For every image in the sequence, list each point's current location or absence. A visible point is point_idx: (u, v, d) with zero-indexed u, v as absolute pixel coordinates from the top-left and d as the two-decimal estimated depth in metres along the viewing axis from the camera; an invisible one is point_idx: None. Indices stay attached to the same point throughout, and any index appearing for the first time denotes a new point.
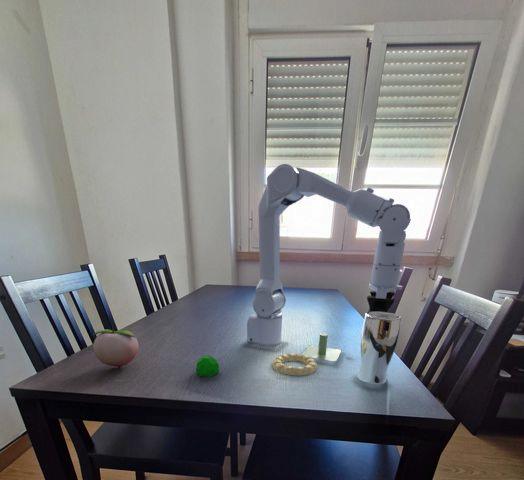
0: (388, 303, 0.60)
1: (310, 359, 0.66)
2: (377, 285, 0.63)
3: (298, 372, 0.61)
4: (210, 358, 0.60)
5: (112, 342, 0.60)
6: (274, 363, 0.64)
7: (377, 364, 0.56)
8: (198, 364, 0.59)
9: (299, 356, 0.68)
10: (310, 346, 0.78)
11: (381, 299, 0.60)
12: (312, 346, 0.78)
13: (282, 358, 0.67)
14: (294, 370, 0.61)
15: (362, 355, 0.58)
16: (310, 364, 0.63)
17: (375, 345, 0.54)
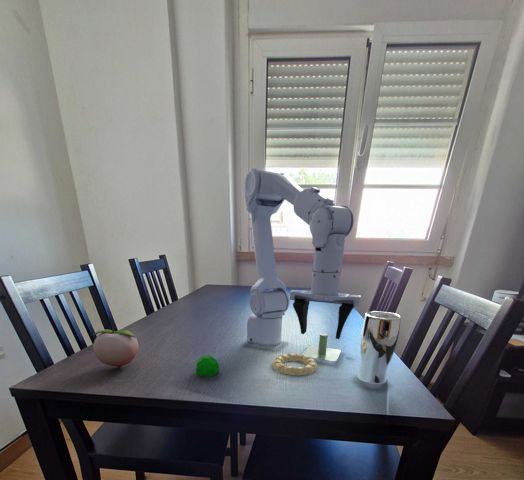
0: None
1: (310, 359, 0.66)
2: None
3: (298, 372, 0.61)
4: (210, 358, 0.60)
5: (112, 342, 0.60)
6: (274, 363, 0.64)
7: (377, 364, 0.56)
8: (198, 364, 0.59)
9: (299, 356, 0.68)
10: (310, 346, 0.78)
11: None
12: (312, 346, 0.78)
13: (282, 358, 0.67)
14: (294, 370, 0.61)
15: (362, 355, 0.58)
16: (310, 364, 0.63)
17: (375, 345, 0.54)
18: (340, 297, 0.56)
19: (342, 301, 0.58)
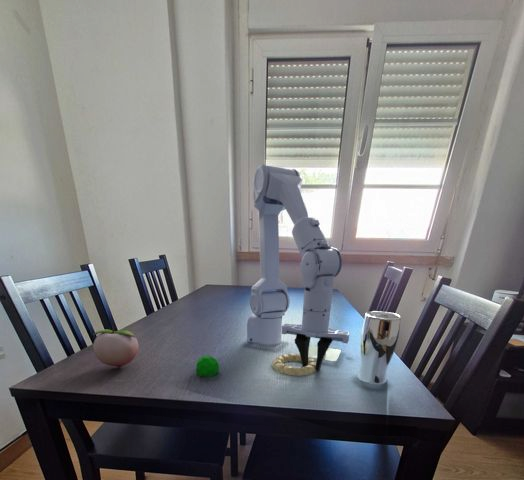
0: None
1: (310, 359, 0.66)
2: None
3: (298, 372, 0.61)
4: (210, 358, 0.60)
5: (112, 342, 0.60)
6: (274, 363, 0.64)
7: (377, 364, 0.56)
8: (198, 364, 0.59)
9: (299, 356, 0.68)
10: (310, 346, 0.78)
11: None
12: (312, 346, 0.78)
13: (283, 358, 0.67)
14: (294, 370, 0.61)
15: (362, 355, 0.58)
16: (310, 364, 0.63)
17: (375, 345, 0.54)
18: (329, 334, 0.58)
19: (331, 337, 0.60)
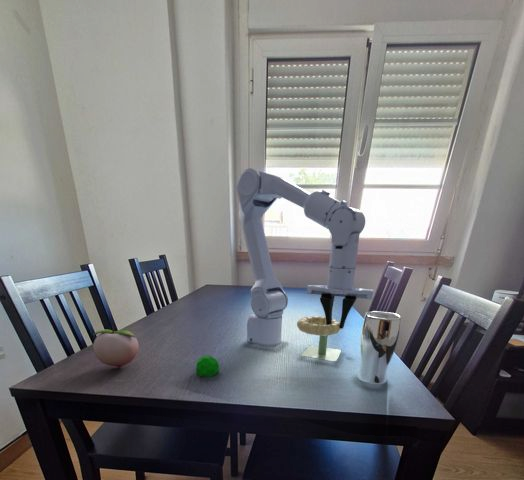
0: None
1: (333, 320, 0.69)
2: None
3: (324, 329, 0.64)
4: (210, 358, 0.60)
5: (112, 342, 0.60)
6: (299, 322, 0.68)
7: (377, 364, 0.56)
8: (198, 364, 0.59)
9: (322, 318, 0.71)
10: (310, 346, 0.78)
11: None
12: (312, 346, 0.78)
13: (306, 319, 0.70)
14: (320, 327, 0.64)
15: (362, 355, 0.58)
16: (334, 323, 0.66)
17: (375, 345, 0.54)
18: (354, 291, 0.61)
19: (355, 294, 0.63)
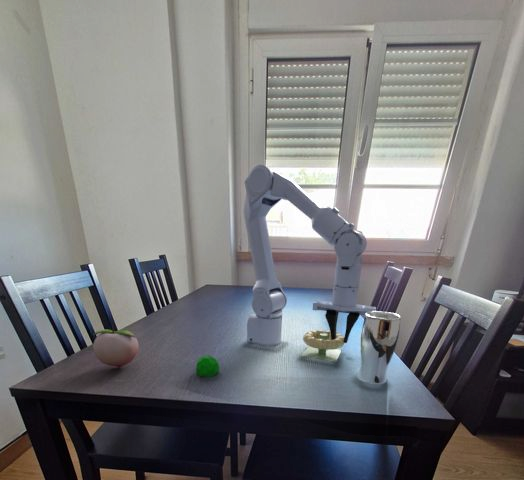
0: None
1: (338, 334, 0.73)
2: None
3: (329, 344, 0.67)
4: (210, 358, 0.60)
5: (112, 342, 0.60)
6: (306, 337, 0.71)
7: (377, 364, 0.56)
8: (198, 364, 0.59)
9: (327, 332, 0.75)
10: None
11: None
12: None
13: (312, 333, 0.74)
14: (325, 342, 0.67)
15: (362, 355, 0.58)
16: (339, 337, 0.70)
17: (375, 345, 0.54)
18: (358, 308, 0.65)
19: (359, 311, 0.66)
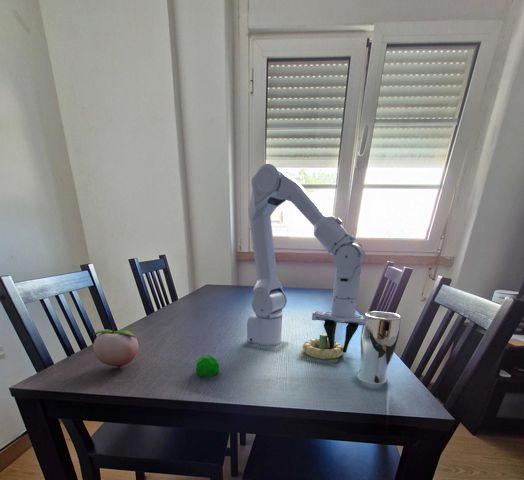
0: None
1: (336, 343, 0.74)
2: None
3: (328, 353, 0.68)
4: (210, 358, 0.60)
5: (112, 342, 0.60)
6: (305, 346, 0.72)
7: (377, 364, 0.56)
8: (198, 364, 0.59)
9: None
10: None
11: None
12: None
13: (311, 342, 0.75)
14: (324, 351, 0.68)
15: (362, 355, 0.58)
16: (337, 347, 0.71)
17: (375, 345, 0.54)
18: (356, 319, 0.65)
19: (357, 322, 0.67)
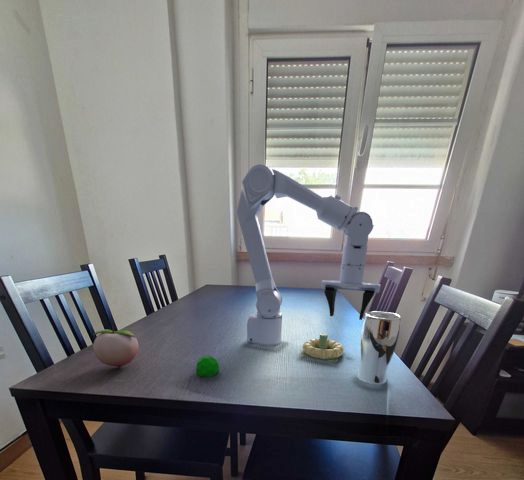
0: None
1: (336, 343, 0.74)
2: None
3: (328, 353, 0.68)
4: (210, 358, 0.60)
5: (112, 342, 0.60)
6: (305, 346, 0.72)
7: (377, 364, 0.56)
8: (198, 364, 0.59)
9: None
10: None
11: None
12: None
13: (311, 342, 0.75)
14: (324, 351, 0.68)
15: (362, 355, 0.58)
16: (337, 347, 0.71)
17: (375, 345, 0.54)
18: (364, 285, 0.70)
19: (365, 288, 0.72)
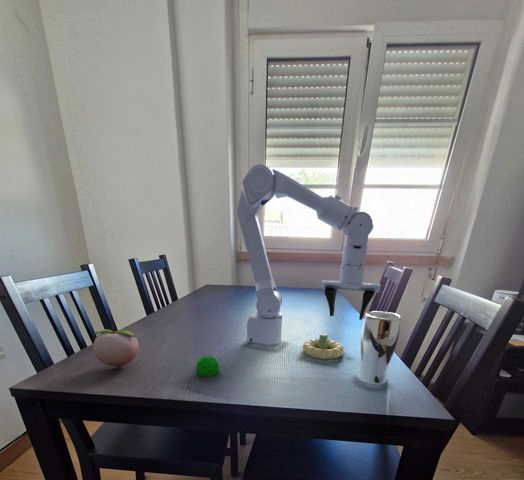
0: None
1: (336, 343, 0.74)
2: None
3: (328, 353, 0.68)
4: (210, 358, 0.60)
5: (112, 342, 0.60)
6: (305, 346, 0.72)
7: (377, 364, 0.56)
8: (198, 364, 0.59)
9: None
10: None
11: None
12: None
13: (311, 342, 0.75)
14: (324, 351, 0.68)
15: (362, 355, 0.58)
16: (337, 347, 0.71)
17: (375, 345, 0.54)
18: (364, 285, 0.70)
19: (365, 288, 0.72)
